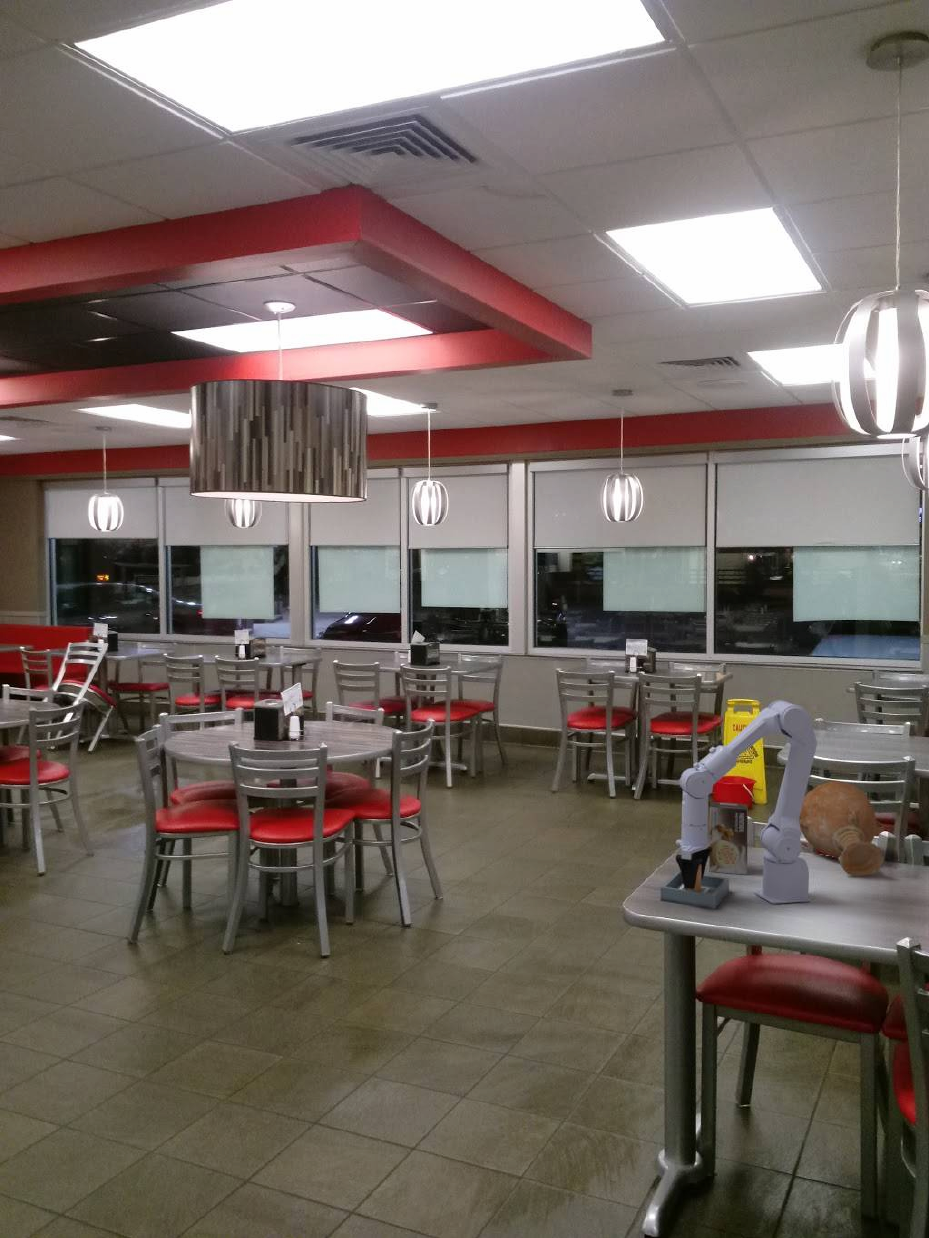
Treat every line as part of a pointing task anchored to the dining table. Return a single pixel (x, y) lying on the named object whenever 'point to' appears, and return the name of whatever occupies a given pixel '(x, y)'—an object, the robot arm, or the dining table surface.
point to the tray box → (707, 898)
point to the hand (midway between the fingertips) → (693, 883)
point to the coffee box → (728, 838)
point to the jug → (842, 827)
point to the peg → (697, 881)
